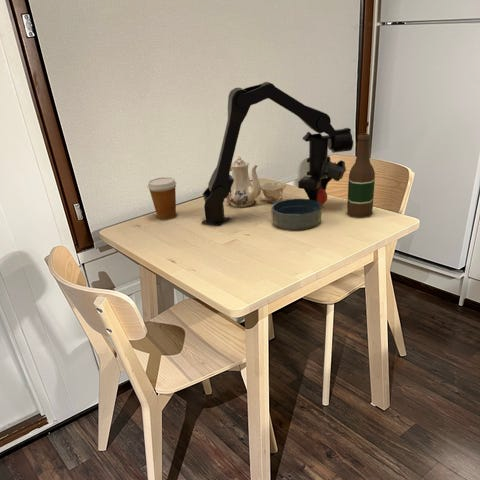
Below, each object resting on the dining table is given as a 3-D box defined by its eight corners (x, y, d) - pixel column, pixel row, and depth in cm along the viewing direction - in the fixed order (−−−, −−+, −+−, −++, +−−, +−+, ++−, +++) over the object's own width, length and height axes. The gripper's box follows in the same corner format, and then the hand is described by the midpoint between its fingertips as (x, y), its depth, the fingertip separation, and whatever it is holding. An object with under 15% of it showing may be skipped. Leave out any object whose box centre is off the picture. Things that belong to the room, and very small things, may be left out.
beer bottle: (372, 218, 151) (378, 136, 138) (346, 217, 152) (350, 137, 140) (371, 209, 157) (377, 131, 145) (347, 209, 159) (350, 132, 146)
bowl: (309, 233, 144) (309, 217, 141) (263, 227, 151) (263, 211, 148) (328, 216, 155) (328, 201, 152) (284, 211, 161) (284, 196, 159)
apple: (323, 209, 158) (323, 187, 154) (305, 207, 161) (305, 185, 157) (329, 203, 162) (330, 182, 159) (312, 202, 165) (313, 180, 161)
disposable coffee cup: (178, 220, 162) (173, 184, 155) (150, 222, 162) (144, 186, 156) (182, 210, 170) (177, 176, 163) (155, 212, 170) (149, 177, 164)
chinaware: (292, 202, 173) (294, 153, 166) (269, 212, 161) (270, 160, 153) (227, 194, 187) (225, 148, 179) (201, 203, 174) (198, 155, 167)
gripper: (332, 163, 142) (330, 214, 151) (353, 148, 156) (350, 196, 164) (297, 161, 148) (297, 211, 156) (320, 147, 161) (319, 193, 169)
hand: (317, 202), depth 161 cm, fingers closed on apple, 6 cm apart
